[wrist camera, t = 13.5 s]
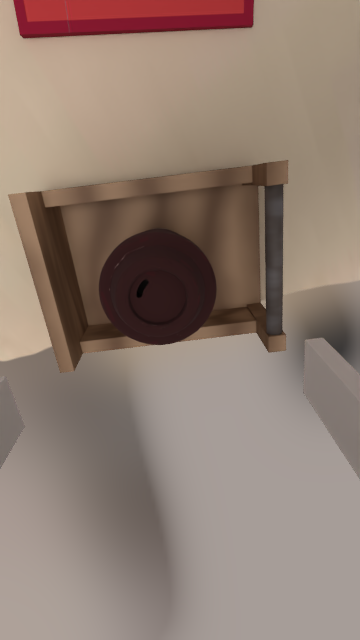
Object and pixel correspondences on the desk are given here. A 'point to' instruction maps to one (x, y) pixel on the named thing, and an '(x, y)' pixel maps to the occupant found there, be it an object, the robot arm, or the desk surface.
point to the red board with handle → (128, 16)
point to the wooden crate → (145, 214)
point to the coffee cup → (157, 287)
